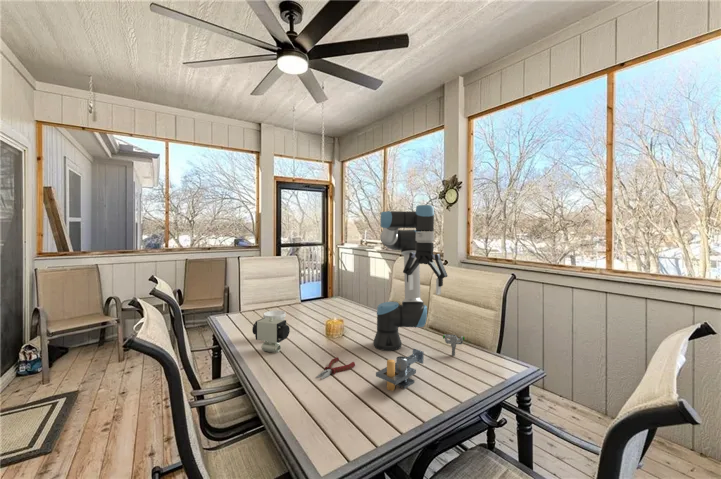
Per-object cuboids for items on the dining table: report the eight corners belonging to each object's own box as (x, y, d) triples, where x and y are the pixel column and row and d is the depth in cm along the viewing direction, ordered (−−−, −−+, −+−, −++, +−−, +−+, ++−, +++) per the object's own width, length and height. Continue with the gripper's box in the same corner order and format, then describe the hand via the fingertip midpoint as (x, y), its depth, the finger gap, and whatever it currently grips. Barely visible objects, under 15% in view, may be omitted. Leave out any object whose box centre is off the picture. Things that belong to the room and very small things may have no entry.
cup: (258, 341, 174) (258, 314, 174) (272, 334, 186) (272, 309, 185) (276, 344, 170) (276, 317, 169) (290, 337, 181) (290, 311, 181)
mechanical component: (464, 357, 154) (464, 337, 154) (443, 355, 156) (443, 335, 156) (463, 355, 157) (463, 335, 157) (442, 353, 159) (442, 334, 159)
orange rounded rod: (385, 388, 123) (385, 361, 123) (390, 385, 126) (390, 358, 125) (391, 391, 121) (391, 363, 121) (396, 388, 123) (396, 361, 123)
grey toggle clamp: (375, 387, 124) (375, 362, 124) (409, 369, 141) (409, 347, 140) (395, 396, 117) (396, 370, 117) (428, 376, 134) (428, 353, 134)
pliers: (308, 377, 133) (308, 371, 133) (336, 361, 150) (336, 355, 150) (328, 385, 127) (328, 378, 127) (356, 367, 144) (356, 361, 144)
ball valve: (291, 350, 162) (291, 316, 161) (282, 356, 154) (282, 321, 153) (262, 346, 168) (262, 313, 167) (252, 351, 160) (251, 317, 159)
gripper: (395, 241, 137) (395, 289, 138) (447, 243, 120) (446, 297, 120) (405, 240, 142) (405, 287, 143) (456, 242, 125) (455, 294, 126)
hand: (424, 292), depth 132 cm, fingers open, 13 cm apart
